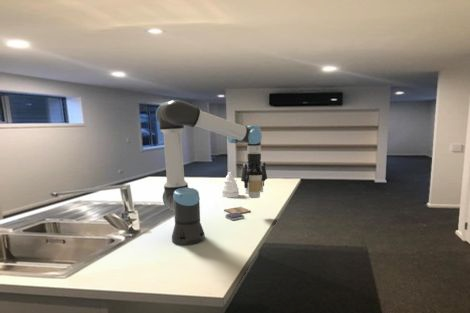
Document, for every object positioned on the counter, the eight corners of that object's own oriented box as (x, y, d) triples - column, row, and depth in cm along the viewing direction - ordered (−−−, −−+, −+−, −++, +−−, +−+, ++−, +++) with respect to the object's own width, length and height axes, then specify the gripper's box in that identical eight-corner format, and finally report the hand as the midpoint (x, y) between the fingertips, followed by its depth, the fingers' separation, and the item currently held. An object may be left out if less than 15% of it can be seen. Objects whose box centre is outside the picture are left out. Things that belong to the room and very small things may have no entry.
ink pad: (232, 220, 176) (231, 217, 176) (225, 217, 183) (225, 214, 183) (244, 218, 180) (244, 215, 180) (237, 215, 187) (237, 212, 187)
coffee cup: (264, 195, 185) (264, 170, 184) (261, 199, 176) (260, 172, 174) (247, 195, 188) (247, 169, 186) (243, 198, 178) (243, 171, 177)
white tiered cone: (238, 197, 234) (237, 173, 232) (221, 198, 234) (220, 173, 233) (238, 193, 247) (238, 170, 245) (222, 194, 247) (221, 171, 245)
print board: (233, 215, 187) (233, 213, 187) (224, 210, 197) (224, 209, 197) (250, 212, 193) (250, 210, 193) (240, 207, 203) (240, 206, 203)
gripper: (241, 154, 171) (241, 196, 173) (273, 152, 181) (273, 191, 183) (234, 153, 177) (234, 193, 179) (266, 151, 188) (266, 189, 190)
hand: (254, 192), depth 181 cm, fingers closed on coffee cup, 9 cm apart
